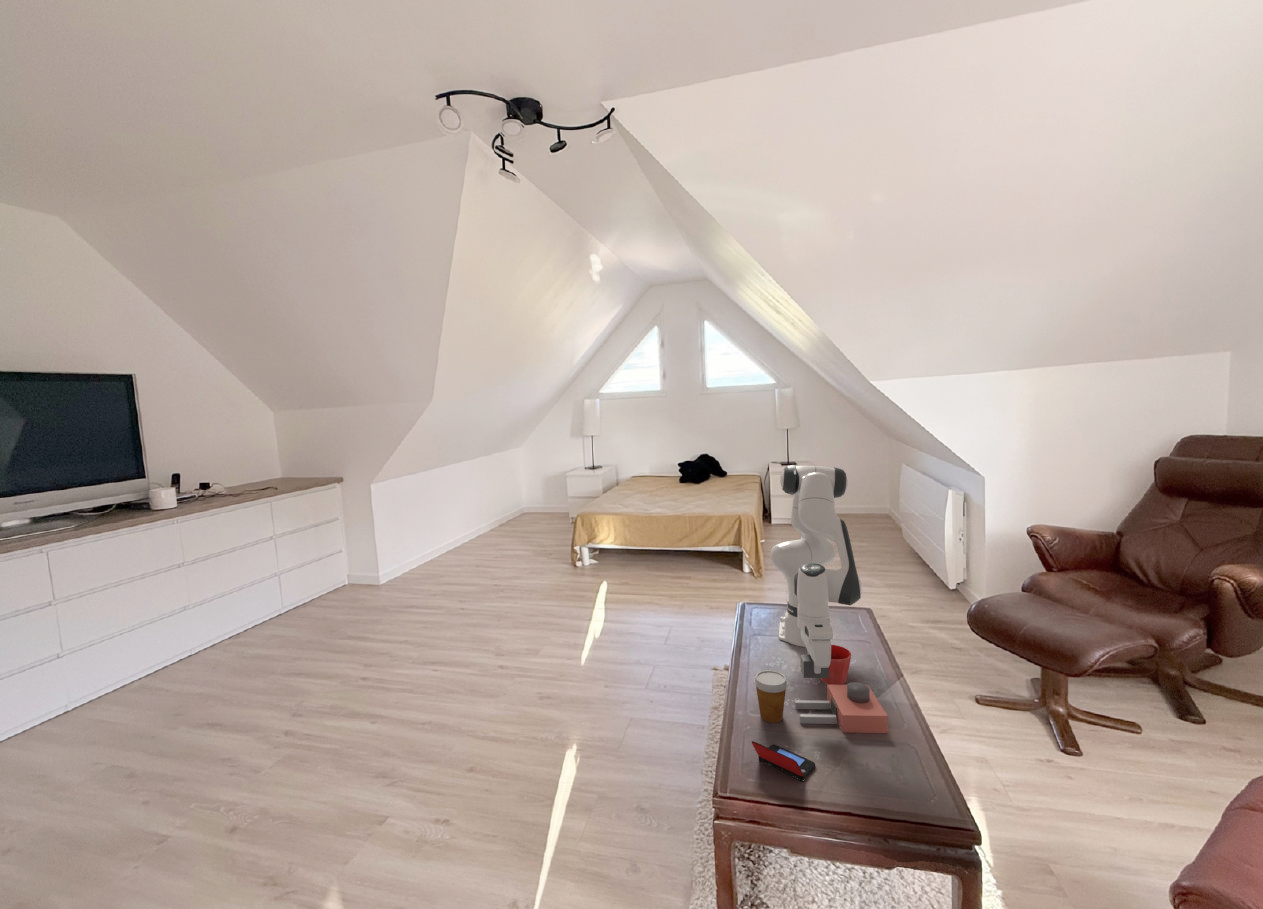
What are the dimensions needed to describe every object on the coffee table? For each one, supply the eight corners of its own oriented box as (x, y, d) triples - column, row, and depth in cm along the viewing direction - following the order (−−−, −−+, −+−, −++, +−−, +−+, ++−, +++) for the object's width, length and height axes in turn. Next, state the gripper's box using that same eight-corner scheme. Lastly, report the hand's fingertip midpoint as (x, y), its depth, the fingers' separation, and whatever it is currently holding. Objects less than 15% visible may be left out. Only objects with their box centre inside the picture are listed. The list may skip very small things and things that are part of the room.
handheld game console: (817, 767, 135) (816, 739, 134) (796, 790, 127) (796, 761, 126) (772, 746, 143) (772, 720, 143) (751, 767, 136) (750, 739, 135)
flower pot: (854, 689, 169) (854, 660, 168) (818, 687, 171) (817, 658, 170) (847, 672, 179) (847, 644, 178) (813, 670, 181) (813, 643, 180)
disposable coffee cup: (789, 709, 159) (788, 671, 158) (787, 728, 150) (786, 688, 149) (756, 705, 162) (755, 667, 161) (753, 723, 154) (752, 683, 152)
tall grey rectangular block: (800, 671, 157) (800, 654, 157) (825, 671, 156) (825, 654, 156) (803, 678, 153) (803, 661, 153) (829, 677, 152) (828, 661, 152)
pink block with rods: (792, 699, 165) (791, 674, 164) (868, 700, 162) (868, 675, 162) (803, 731, 149) (803, 704, 148) (887, 733, 146) (887, 705, 146)
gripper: (794, 608, 164) (795, 651, 165) (810, 636, 144) (811, 685, 145) (815, 607, 163) (816, 651, 164) (834, 636, 143) (835, 685, 144)
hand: (814, 667), depth 154 cm, fingers closed on tall grey rectangular block, 4 cm apart
